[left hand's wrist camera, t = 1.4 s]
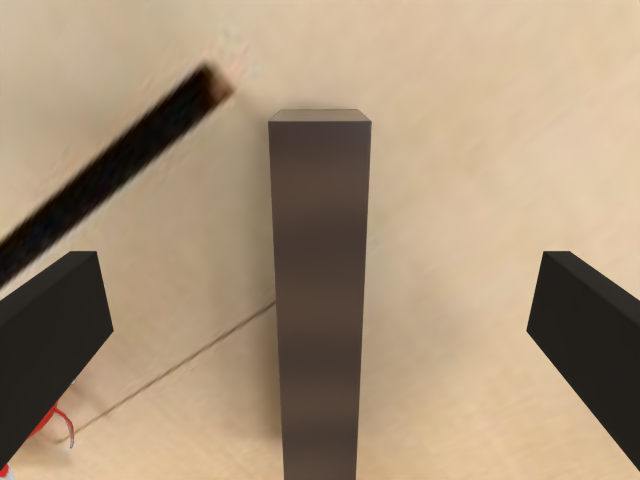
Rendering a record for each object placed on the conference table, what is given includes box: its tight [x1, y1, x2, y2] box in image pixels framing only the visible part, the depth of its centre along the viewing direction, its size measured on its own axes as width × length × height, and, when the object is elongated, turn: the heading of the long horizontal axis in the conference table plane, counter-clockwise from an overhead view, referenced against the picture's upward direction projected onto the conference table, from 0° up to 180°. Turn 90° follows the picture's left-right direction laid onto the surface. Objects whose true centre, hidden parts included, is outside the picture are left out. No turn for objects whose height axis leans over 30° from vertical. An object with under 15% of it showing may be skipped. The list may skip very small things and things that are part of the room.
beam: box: [268, 110, 372, 480], centre depth 28 cm, size 28×5×7 cm, turn 0°
